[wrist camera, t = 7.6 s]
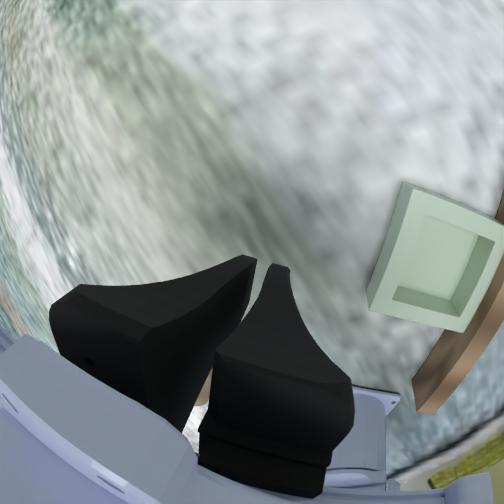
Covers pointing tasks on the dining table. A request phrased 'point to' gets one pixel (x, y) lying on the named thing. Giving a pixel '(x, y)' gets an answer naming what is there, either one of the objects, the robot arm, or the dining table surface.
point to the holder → (435, 260)
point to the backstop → (460, 346)
